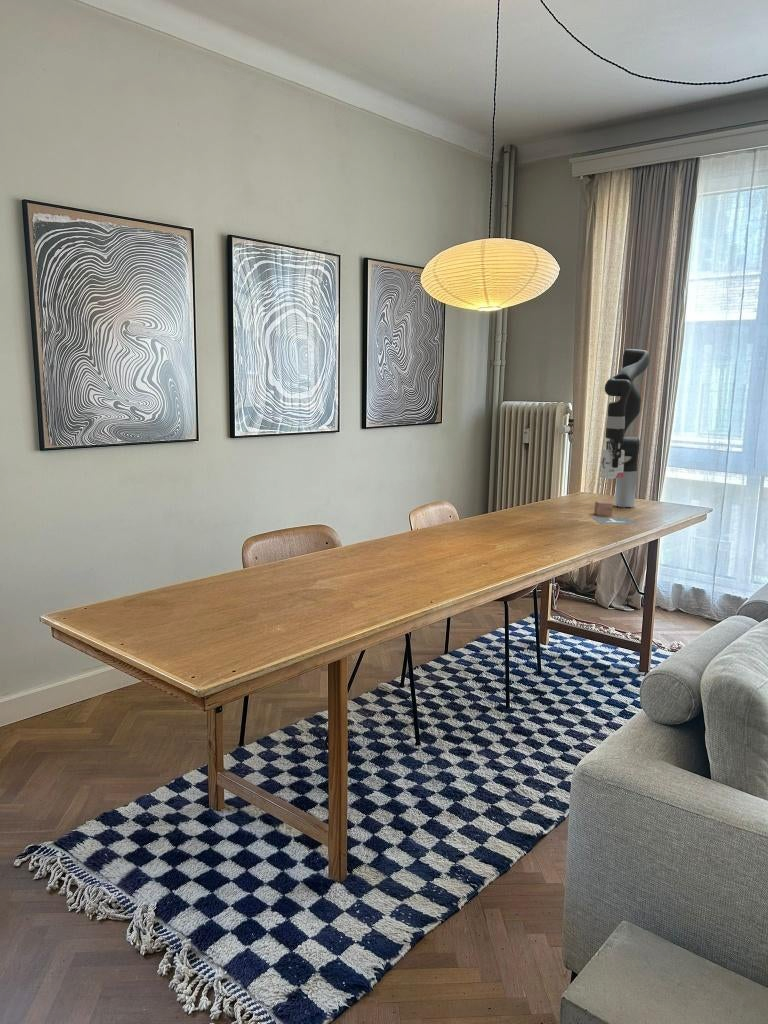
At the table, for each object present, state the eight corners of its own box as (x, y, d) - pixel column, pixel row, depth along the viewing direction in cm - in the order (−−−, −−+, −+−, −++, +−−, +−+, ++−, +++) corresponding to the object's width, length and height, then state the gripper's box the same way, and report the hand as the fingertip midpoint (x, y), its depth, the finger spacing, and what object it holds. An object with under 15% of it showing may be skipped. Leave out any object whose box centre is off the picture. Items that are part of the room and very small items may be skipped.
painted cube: (594, 514, 348) (595, 500, 347) (607, 514, 348) (608, 501, 347) (598, 516, 342) (599, 503, 341) (611, 516, 342) (612, 503, 341)
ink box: (615, 476, 333) (617, 448, 331) (623, 478, 328) (625, 450, 326) (599, 477, 330) (601, 449, 327) (606, 479, 325) (609, 450, 323)
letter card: (589, 517, 339) (589, 516, 339) (625, 517, 340) (625, 517, 339) (600, 524, 323) (600, 523, 323) (638, 525, 324) (638, 524, 324)
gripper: (601, 425, 332) (598, 464, 335) (611, 428, 318) (608, 468, 321) (618, 426, 332) (615, 464, 335) (629, 428, 318) (626, 468, 321)
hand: (612, 466), depth 328 cm, fingers closed on ink box, 6 cm apart
